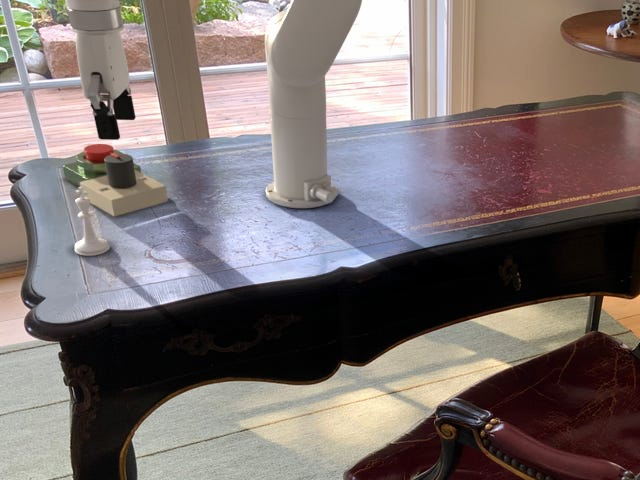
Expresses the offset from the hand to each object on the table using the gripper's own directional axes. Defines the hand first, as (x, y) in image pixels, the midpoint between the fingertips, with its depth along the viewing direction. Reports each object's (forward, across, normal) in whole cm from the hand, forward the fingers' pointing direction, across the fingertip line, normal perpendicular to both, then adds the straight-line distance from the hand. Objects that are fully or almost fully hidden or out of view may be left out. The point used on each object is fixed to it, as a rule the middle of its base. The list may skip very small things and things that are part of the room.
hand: (118, 128), depth 135 cm
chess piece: (+13, +19, -1) cm, 23 cm away
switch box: (+12, -8, -7) cm, 17 cm away
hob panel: (+12, 0, -1) cm, 13 cm away
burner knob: (+9, 0, -1) cm, 10 cm away
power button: (+8, -9, -7) cm, 14 cm away
